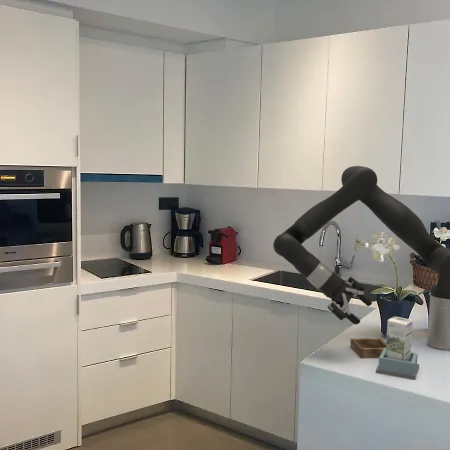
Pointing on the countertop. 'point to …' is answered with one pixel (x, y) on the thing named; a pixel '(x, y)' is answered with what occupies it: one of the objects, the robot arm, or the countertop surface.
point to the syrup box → (399, 338)
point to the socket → (398, 366)
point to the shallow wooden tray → (368, 347)
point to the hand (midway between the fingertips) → (364, 313)
